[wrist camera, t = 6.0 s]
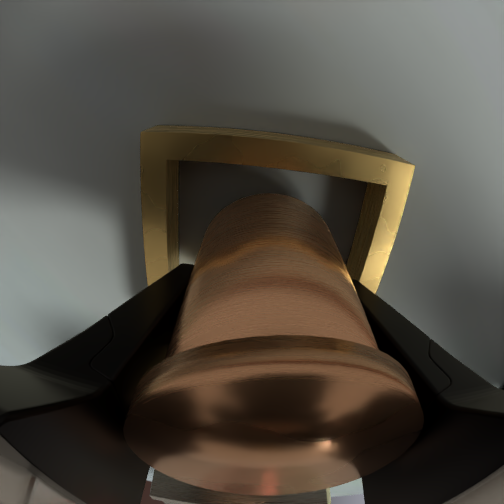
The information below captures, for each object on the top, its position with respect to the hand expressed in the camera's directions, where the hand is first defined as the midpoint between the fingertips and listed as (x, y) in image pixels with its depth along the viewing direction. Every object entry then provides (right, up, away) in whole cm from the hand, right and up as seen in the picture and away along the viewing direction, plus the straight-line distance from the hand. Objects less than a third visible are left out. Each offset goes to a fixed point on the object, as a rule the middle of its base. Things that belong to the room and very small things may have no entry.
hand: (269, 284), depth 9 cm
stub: (0, +1, +1) cm, 2 cm away
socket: (0, +1, +2) cm, 3 cm away
